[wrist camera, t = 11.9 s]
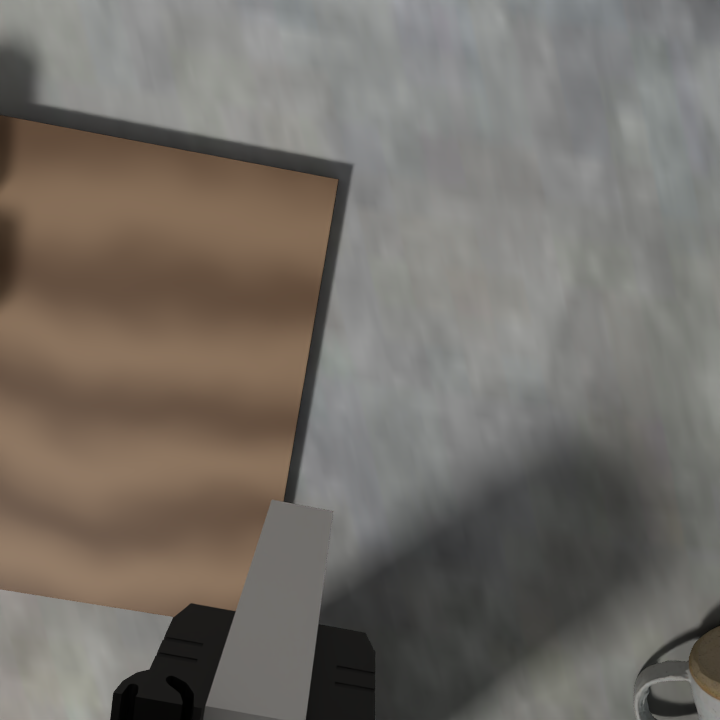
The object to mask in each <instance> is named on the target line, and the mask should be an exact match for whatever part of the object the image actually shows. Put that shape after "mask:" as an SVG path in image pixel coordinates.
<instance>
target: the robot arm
mask: <svg viewBox="0 0 720 720" xmlns="http://www.w3.org/2000/svg"><path fill="white" fill-rule="evenodd" d="M332 517H333V511H330V510H325V509H319V508H314V507H309V506H303V505H298V504H293V503H287V502H282V501H276V500H271V504H270V507H269V510H268V513H267V516H266V519H265V522H264V525H263V528H262V532H261V535H260V538H259V541H258V544H257V547H256V550H255V553H254V556H253V559H252V563H251V566H250V569H249V572H248V575H247V578H246V581H245V584H244V587H243V590H242V594H241V597H240V600H239V603H238V606H237V609H236V611H232V610H226V609H221V608H215V607H210V606H204V605H199V604H193V603H191V604H189V605H188V606H187V607H186V608H184V609H183V610H182V611H181V612H179V613H178V614H177V615H176V616H175V617H173V619H172V621H171V624H170V626H169V628H168V630H167V632H166V635H165V637H164V640H163V641H162V643H161V645H160V648H159V650H158V652H157V656H155V659H154V661H153V663H152V665H151V667H150V670H146V671H142V672H137V673H135V674H134V675H132V676H130V677H129V678H127V679H125V680H124V681H122V683H121V684H120V685H119V686H118V688H117V689H116V690H115V691H114V693H113V701H112V710H111V718H110V720H375V693H374V691H375V651H374V649H373V647H372V645H371V643H370V641H369V639H368V637H367V635H366V634H365V633H363V632H358V631H352V630H347V629H341V628H336V627H330V626H325V625H319V624H318V623H319V615H320V608H321V600H322V593H323V585H324V578H325V570H326V563H327V555H328V547H329V540H330V532H331V525H332Z"/></svg>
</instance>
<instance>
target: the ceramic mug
mask: <svg viewBox="0 0 720 720" xmlns="http://www.w3.org/2000/svg"><path fill="white" fill-rule="evenodd" d="M671 680H675V681H682V680H685V681H689V682H690V686H691V690H692V694H693V698H694V702H695V705H696V708H697V712H698V717H699V720H720V626H718V627H716V628H714V629H712V630H710V631H709V632H707V633H706V634H704V635H703V636H702V637H701V638H700V639H699V640H698V641H697V642H696V643H695V644H694V646H693V648H692V650H691V653H690V656H689V661H687V662H686V661H665V662H662V663H657V664H655V665H650V666H648V667H647V668H645V669H644V670H643V671H642V672H641V673H640V674H639V676H638V677H637V679H636V682H635V685H634V711H635V715H636V718H637V720H657V719H655V718H654V717H653V716H652V714H651V712H650V711H649V707H648V702H647V695H648V694H649V686H651V685H653V684H656V683H658V682H665V681H671Z"/></svg>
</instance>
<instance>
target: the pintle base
mask: <svg viewBox="0 0 720 720" xmlns="http://www.w3.org/2000/svg"><path fill="white" fill-rule="evenodd" d="M338 181H339V180H338V179H333V178H328V177H323V176H317V175H312V174H307V173H302V172H296V171H291V170H286V169H281V168H275V167H270V166H265V165H260V164H254V163H249V162H244V161H239V160H233V159H228V158H223V157H218V156H212V155H207V154H202V153H197V152H191V151H186V150H181V149H176V148H170V147H165V146H160V145H155V144H149V143H144V142H139V141H134V140H128V139H123V138H118V137H113V136H107V135H102V134H97V133H92V132H86V131H81V130H76V129H71V128H65V127H60V126H55V125H50V124H44V123H39V122H34V121H29V120H23V119H18V118H13V117H8V116H2V115H0V589H2V590H8V591H14V592H21V593H27V594H33V595H40V596H46V597H52V598H58V599H65V600H71V601H77V602H84V603H90V604H96V605H103V606H109V607H115V608H121V609H128V610H134V611H140V612H147V613H153V614H159V615H165V616H172V617H175V616H176V615H177V614H178V613H179V612H181V611H182V610H183V609H184V608H186V607H187V606H188V605H189V604H191V603H193V604H199V605H204V606H210V607H215V608H221V609H226V610H232V611H236V609H237V606H238V603H239V600H240V597H241V594H242V590H243V587H244V584H245V581H246V578H247V575H248V572H249V569H250V566H251V563H252V559H253V556H254V553H255V550H256V547H257V544H258V541H259V538H260V535H261V532H262V528H263V525H264V522H265V519H266V516H267V513H268V510H269V507H270V504H271V500H276V501H282V502H284V497H285V491H286V485H287V479H288V474H289V468H290V462H291V456H292V450H293V444H294V438H295V433H296V427H297V421H298V415H299V409H300V403H301V398H302V392H303V386H304V380H305V374H306V368H307V362H308V357H309V351H310V345H311V339H312V333H313V327H314V322H315V316H316V310H317V304H318V298H319V292H320V286H321V281H322V275H323V269H324V263H325V257H326V251H327V246H328V240H329V234H330V228H331V222H332V216H333V211H334V205H335V199H336V193H337V187H338Z"/></svg>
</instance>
